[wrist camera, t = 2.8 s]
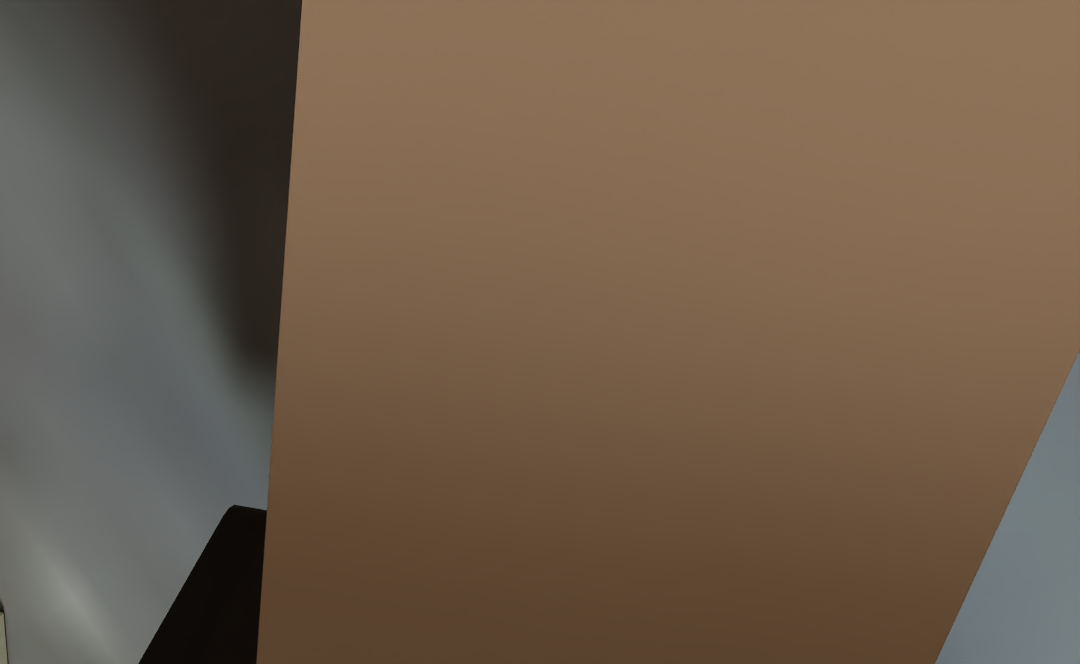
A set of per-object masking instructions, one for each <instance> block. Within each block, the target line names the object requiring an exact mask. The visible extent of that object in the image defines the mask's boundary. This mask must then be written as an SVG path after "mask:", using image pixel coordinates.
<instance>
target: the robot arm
mask: <svg viewBox="0 0 1080 664" xmlns="http://www.w3.org/2000/svg"><path fill="white" fill-rule="evenodd" d="M266 518H267V510H261V509H255V508H250V507H244V506H238V505H233V506H232V507H230V508H229V509H228V510H227V512H226V513H225V514H224V516H223V517H222V519H221V521H220V523H219V524H218V526H217V528H216V529H215V531H214V533H213V535H212V536H211V538H210V540H209V542H208V543H207V545H206V547H205V549H204V550H203V552H202V554H201V556H200V557H199V559H198V561H197V563H196V564H195V566H194V568H193V570H192V571H191V573H190V575H189V577H188V578H187V580H186V582H185V583H184V585H183V587H182V589H181V590H180V592H179V594H178V596H177V597H176V599H175V601H174V603H173V604H172V606H171V608H170V610H169V611H168V613H167V615H166V617H165V618H164V620H163V622H162V624H161V625H160V627H159V629H158V631H157V632H156V634H155V636H154V637H153V639H152V641H151V643H150V644H149V646H148V648H147V650H146V651H145V653H144V655H143V657H142V658H141V660H140V662H139V664H256V662H257V648H258V634H259V619H260V605H261V590H262V576H263V561H264V547H265V532H266Z"/></svg>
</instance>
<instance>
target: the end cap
mask: <svg viewBox="0 0 1080 664" xmlns="http://www.w3.org/2000/svg"><path fill="white" fill-rule="evenodd" d="M0 664H8V663H7V651H6V639H5V626H4V614H3V612H0Z"/></svg>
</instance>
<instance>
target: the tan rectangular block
mask: <svg viewBox="0 0 1080 664" xmlns="http://www.w3.org/2000/svg"><path fill="white" fill-rule="evenodd" d="M1079 351H1080V0H302V12H301V27H300V41H299V56H298V70H297V85H296V99H295V113H294V128H293V142H292V157H291V171H290V186H289V200H288V215H287V229H286V244H285V258H284V272H283V287H282V301H281V316H280V330H279V345H278V359H277V374H276V388H275V402H274V417H273V431H272V446H271V460H270V475H269V489H268V504H267V518H266V532H265V547H264V561H263V576H262V590H261V605H260V619H259V634H258V648H257V662H256V664H935V662H936V660H937V658H938V656H939V653H940V651H941V649H942V647H943V645H944V643H945V640H946V638H947V636H948V634H949V632H950V630H951V627H952V625H953V623H954V621H955V619H956V617H957V615H958V612H959V610H960V608H961V606H962V604H963V602H964V599H965V597H966V595H967V593H968V591H969V589H970V586H971V584H972V582H973V580H974V578H975V576H976V573H977V571H978V569H979V567H980V565H981V563H982V560H983V558H984V556H985V554H986V552H987V550H988V548H989V545H990V543H991V541H992V539H993V537H994V535H995V532H996V530H997V528H998V526H999V524H1000V522H1001V519H1002V517H1003V515H1004V513H1005V511H1006V509H1007V506H1008V504H1009V502H1010V500H1011V498H1012V496H1013V493H1014V491H1015V489H1016V487H1017V485H1018V483H1019V480H1020V478H1021V476H1022V474H1023V472H1024V470H1025V468H1026V465H1027V463H1028V461H1029V459H1030V457H1031V455H1032V452H1033V450H1034V448H1035V446H1036V444H1037V442H1038V439H1039V437H1040V435H1041V433H1042V431H1043V429H1044V426H1045V424H1046V422H1047V420H1048V418H1049V416H1050V413H1051V411H1052V409H1053V407H1054V405H1055V403H1056V401H1057V398H1058V396H1059V394H1060V392H1061V390H1062V388H1063V385H1064V383H1065V381H1066V379H1067V377H1068V375H1069V372H1070V370H1071V368H1072V366H1073V364H1074V362H1075V359H1076V357H1077V355H1078V353H1079Z"/></svg>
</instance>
